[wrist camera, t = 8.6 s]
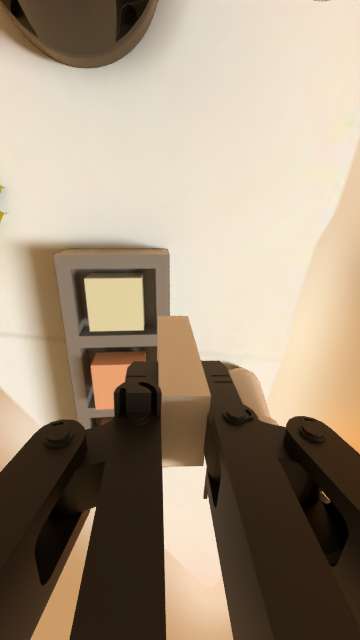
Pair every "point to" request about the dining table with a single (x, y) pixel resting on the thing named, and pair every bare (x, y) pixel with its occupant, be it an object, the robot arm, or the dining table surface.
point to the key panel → (88, 343)
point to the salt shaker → (251, 393)
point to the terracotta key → (111, 374)
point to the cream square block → (115, 301)
